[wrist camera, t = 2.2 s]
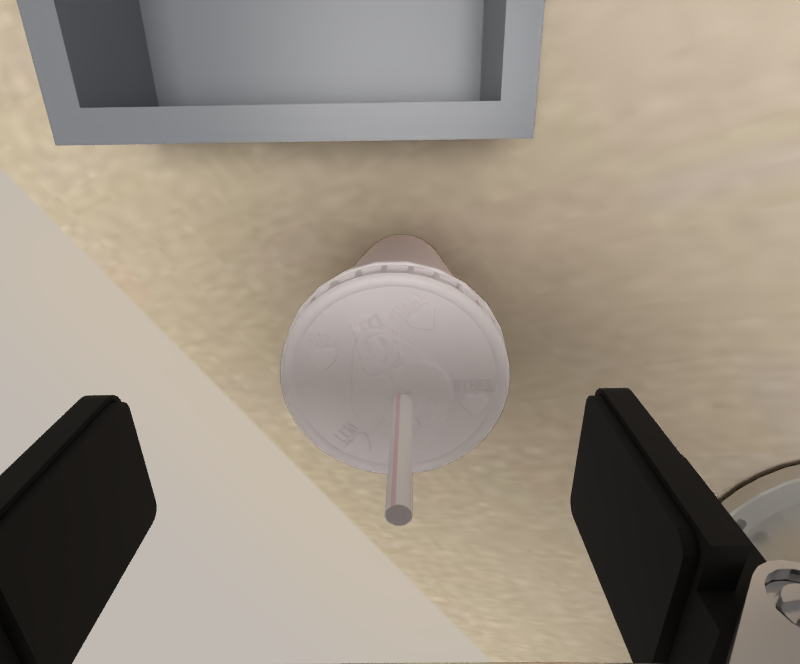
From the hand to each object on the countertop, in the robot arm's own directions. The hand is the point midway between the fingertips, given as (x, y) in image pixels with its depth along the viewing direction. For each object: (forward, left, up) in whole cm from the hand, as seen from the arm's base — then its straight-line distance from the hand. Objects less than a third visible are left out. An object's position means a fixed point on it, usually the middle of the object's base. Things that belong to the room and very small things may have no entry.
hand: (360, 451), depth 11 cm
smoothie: (0, -1, -13) cm, 13 cm away
